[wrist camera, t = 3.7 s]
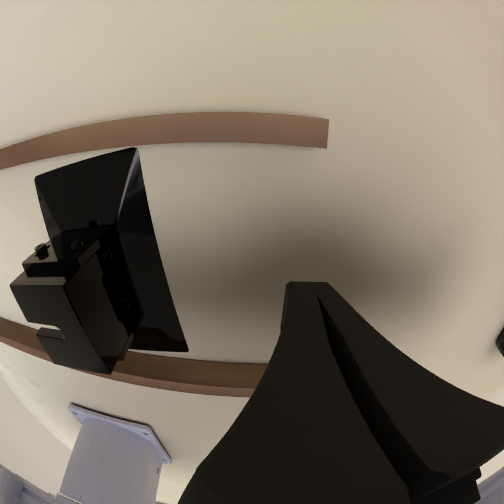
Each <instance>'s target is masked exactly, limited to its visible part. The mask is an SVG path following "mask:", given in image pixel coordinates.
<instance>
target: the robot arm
mask: <svg viewBox="0 0 504 504" xmlns="http://www.w3.org/2000/svg"><path fill="white" fill-rule="evenodd" d="M280 327H281V333H280V336H279V339H278V342H277V345H276V347H275V350H274V352H273V355H272V357H271V359H270V361H269V364H268V366H267V368H266V370H265V372H264V374H263V376H262V378H261V380H260V381H259V383H258V385H257V387H256V389H255V391H254V392H253V394H252V396H251V397H250V399H249V401H248V402H247V404H246V405H245V407H244V408H243V410H242V411H241V413H240V414H239V416H238V417H237V419H236V420H235V422H234V423H233V424H232V426H231V427H230V429H229V430H228V431H227V433H226V434H225V435H224V437H223V438H222V439H221V440H220V441H219V443H218V444H217V445H216V446H215V447H214V449H213V450H212V451H211V452H210V453H209V454H208V456H207V457H206V458H205V459H204V460H203V461H202V462H201V464H200V465H199V466H198V467H197V469H196V471H195V473H194V475H193V477H192V478H191V480H190V482H189V483H188V485H187V487H186V488H185V490H184V492H183V494H182V496H181V498H180V500H179V502H178V504H504V467H502V468H501V469H500V470H498V471H497V472H495V473H494V474H493V475H491V476H490V477H488V478H487V479H485V480H484V481H482V482H481V483H480V484H478V485H477V483H476V480H477V479H478V478H480V477H481V471H480V468H479V467H480V466H482V465H483V464H485V463H486V462H488V461H489V460H490V459H492V458H493V457H494V456H496V455H497V454H498V453H500V452H501V451H502V450H504V407H502V406H500V405H497V404H494V403H492V402H489V401H486V400H484V399H481V398H478V397H476V396H474V395H472V394H470V393H468V392H466V391H464V390H461V389H459V388H457V387H455V386H454V385H452V384H450V383H448V382H446V381H445V380H443V379H441V378H440V377H438V376H436V375H435V374H433V373H431V372H430V371H428V370H427V369H425V368H424V367H422V366H421V365H419V364H418V363H416V362H415V361H413V360H412V359H411V358H409V357H408V356H407V355H405V354H404V353H403V352H401V351H400V350H399V349H398V348H396V347H395V346H394V345H393V344H391V343H390V342H389V341H388V340H387V339H386V338H384V337H383V336H382V335H381V334H380V333H379V332H378V331H376V330H375V329H374V328H373V327H372V326H371V325H370V324H369V323H368V322H367V321H366V320H365V319H364V318H363V317H362V316H360V315H359V314H358V313H357V312H356V311H355V310H354V309H353V308H352V307H351V306H350V305H349V304H348V303H347V302H346V300H345V299H344V298H343V297H342V296H341V295H340V294H339V293H338V292H337V291H336V290H335V289H334V288H333V287H332V286H331V285H330V284H328V283H327V282H295V281H290V282H289V283H287V284H286V291H285V298H284V305H283V312H282V319H281V326H280ZM68 409H69V410H70V411H71V412H72V413H73V415H74V416H75V417H76V418H77V419H78V420H79V421H80V423H81V424H82V427H81V429H80V432H79V434H78V437H77V440H76V443H75V445H74V448H73V451H72V454H71V457H70V460H69V463H68V466H67V469H66V472H65V475H64V479H63V482H62V485H61V488H60V493H62V494H64V495H66V496H68V497H70V498H72V499H74V500H76V501H78V502H80V503H82V504H155V500H156V494H157V488H158V483H159V477H160V472H161V467H162V463H166V464H171V463H172V460H171V459H170V458H169V456H168V455H167V453H166V452H165V450H164V449H163V447H162V446H161V444H160V443H159V441H158V440H157V438H156V437H155V435H154V434H153V432H152V430H151V429H150V428H149V427H148V426H145V425H141V424H137V423H132V422H128V421H124V420H120V419H116V418H113V417H109V416H106V415H102V414H99V413H96V412H93V411H90V410H86V409H84V408H81V407H78V406H75V405H72V404H69V406H68ZM0 504H79V503H77V502H75V501H73V500H71V499H69V498H66V497H64V496H62V495H60V494H58V493H57V495H56V499H55V495H53V494H51V493H46V492H44V491H43V490H41V489H39V488H38V487H36V486H35V485H33V484H31V483H30V482H28V481H27V480H25V479H23V478H22V477H20V476H19V475H17V474H15V473H13V472H11V471H10V470H8V469H7V468H5V467H4V466H2V465H1V464H0Z"/></svg>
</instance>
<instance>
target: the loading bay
mask: <svg viewBox="0 0 504 504" xmlns="http://www.w3.org/2000/svg"><path fill="white" fill-rule="evenodd" d="M328 126H329V119H322V118H314V117H306V116H296V115H284V114H270V113H249V112H199V113H178V114H164V115H153V116H143V117H135V118H127V119H120V120H113V121H107V122H101V123H96V124H91V125H86V126H81V127H76V128H72V129H67V130H63V131H59V132H55V133H51V134H47V135H44V136H40V137H37V138H33V139H30V140H27V141H24V142H21V143H18V144H15V145H12V146H9V147H6V148H3V149H0V170H1V169H5V168H8V167H12V166H16V165H20V164H24V163H28V162H32V161H37V160H41V159H46V158H51V157H56V156H61V155H67V154H73V153H79V152H85V151H92V150H99V149H107V148H115V147H125V146H135V145H147V144H162V143H184V142H246V143H268V144H284V145H296V146H307V147H317V148H326V149H327V139H328ZM38 331H39V330H35V329H32V328H29V327H26V326H23V325H20V324H17V323H14V322H11V321H8V320H5V319H3V318H0V342H3V343H5V344H7V345H9V346H12V347H14V348H16V349H19V350H21V351H23V352H26V353H28V354H31V355H33V356H36V357H39V358H41V359H44V360H47V361H50V362H53V361H52V360H51V358H50V357H49V355H48V354H47V352H46V351H45V349H44V348H43V346H42V345H41V343H40V342H39V340H38V338H37V337H36V333H37V332H38ZM267 366H268V364H240V363H222V362H208V361H196V360H186V359H177V358H169V357H161V356H154V355H147V354H140V353H134V352H128V351H127V353H126V356H125V358H124V360H123V361H117V363H116V365H115V367H114V369H113V371H112V374H111V375H107V374H101V373H95V372H90V371H85V370H80V369H75V368H71V369H75V370H78V371H81V372H85V373H89V374H92V375H96V376H100V377H104V378H108V379H112V380H117V381H121V382H126V383H130V384H135V385H141V386H146V387H152V388H158V389H164V390H171V391H178V392H186V393H195V394H205V395H217V396H232V397H251V396H252V394H253V392H254V391H255V389H256V387H257V385H258V383H259V381H260V380H261V378H262V376H263V374H264V372H265V370H266V368H267ZM65 367H66V366H65ZM68 368H70V367H68Z"/></svg>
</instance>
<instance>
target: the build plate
mask: <svg viewBox="0 0 504 504" xmlns="http://www.w3.org/2000/svg"><path fill="white" fill-rule="evenodd" d="M35 186H36V190H37V195H38V199H39V203H40V207H41V211H42V215H43V218H44V222H45V225H46V229H47V232H48V235H49V238H50V240H49V241H48V242H47V243H42V244H40V245H38V246H36V247H35V252H34V253H33V254H32V255H31V256H29V257H28V258H27V259H26V260H25V261H24V262H22V265H23V268H24V270H25V271H24V272H22V273H21V274H20V275H19V276H18V277H17V278H16V279H15V280H14V281H13V282H12V283H11V284H10V288H11V290H12V292H13V294H14V297H15V299H16V301H17V303H18V305H19V306H20V308H21V310H22V312H23V314H24V316H25V318H26V320H27V321H28V322H31V323H38V324H44V325H51V326H55V327H57V328H59V329H60V330H56V329H49V328H43V327H41V328H40V329H39V331H38V332H37V333H36V337H37V338H38V340H39V342H40V343H41V345H42V346H43V348H44V349H45V351H46V352H47V354H48V355H49V357H50V358H51V360H52V361H53V363H54V364H57V365H62V366H66V367H70V368H75V369H80V370H85V371H90V372H95V373H101V374H107V375H111V374H112V371H113V369H114V367H115V365H116V363H117V361H123V360H124V358H125V356H126V353H127V351H128V349H136V350H149V351H167V352H188V351H189V349H188V346H187V343H186V340H185V337H184V334H183V331H182V328H181V325H180V322H179V319H178V316H177V313H176V310H175V306H174V303H173V300H172V296H171V293H170V290H169V286H168V283H167V279H166V276H165V272H164V268H163V265H162V261H161V257H160V253H159V249H158V245H157V241H156V237H155V233H154V228H153V224H152V220H151V215H150V210H149V206H148V201H147V196H146V191H145V186H144V180H143V175H142V169H141V163H140V157H139V151H138V149H137V148H135V147H132V148H127V149H123V150H119V151H115V152H111V153H107V154H103V155H100V156H96V157H93V158H89V159H86V160H82V161H79V162H76V163H73V164H69V165H66V166H63V167H60V168H57V169H54V170H52V171H49V172H46V173H43V174H41V175H38V176H36V177H35Z"/></svg>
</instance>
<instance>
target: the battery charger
mask: <svg viewBox="0 0 504 504" xmlns="http://www.w3.org/2000/svg"><path fill="white" fill-rule="evenodd" d="M497 348H498V349H499V351H500V352H501V354H502V355H503V357H504V331H503V333H502V334H501V336H500V338H499V340H498V342H497Z"/></svg>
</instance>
